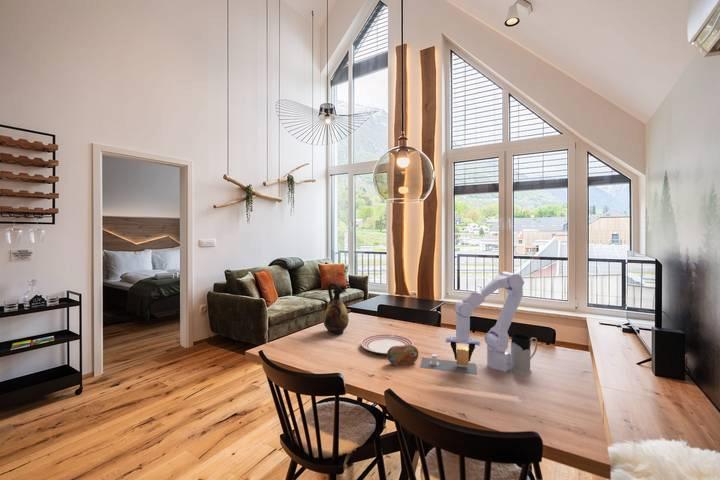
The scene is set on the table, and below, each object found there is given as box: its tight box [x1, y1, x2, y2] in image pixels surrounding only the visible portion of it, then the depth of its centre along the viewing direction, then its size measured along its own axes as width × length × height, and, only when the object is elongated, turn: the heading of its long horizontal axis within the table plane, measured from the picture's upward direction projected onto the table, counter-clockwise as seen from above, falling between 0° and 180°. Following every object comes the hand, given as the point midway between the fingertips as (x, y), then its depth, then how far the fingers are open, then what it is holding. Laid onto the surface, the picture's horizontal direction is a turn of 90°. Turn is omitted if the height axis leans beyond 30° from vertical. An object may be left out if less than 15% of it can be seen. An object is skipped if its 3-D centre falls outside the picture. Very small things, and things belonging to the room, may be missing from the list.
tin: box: [386, 345, 419, 366], centre depth 150 cm, size 15×3×8 cm, turn 105°
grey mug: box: [510, 333, 538, 375], centre depth 144 cm, size 9×14×15 cm, turn 111°
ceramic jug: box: [322, 282, 350, 336], centre depth 195 cm, size 17×15×30 cm
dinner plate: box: [360, 333, 414, 355], centre depth 170 cm, size 28×27×3 cm
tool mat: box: [419, 353, 478, 376], centre depth 144 cm, size 24×12×6 cm, turn 74°
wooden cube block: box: [456, 345, 470, 366], centre depth 142 cm, size 5×5×7 cm
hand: (462, 359), depth 142 cm, fingers closed on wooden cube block, 5 cm apart
